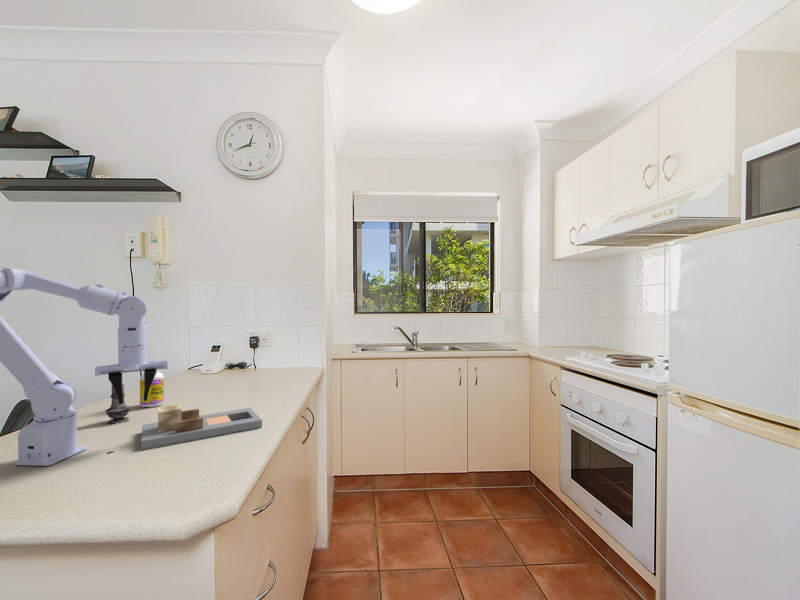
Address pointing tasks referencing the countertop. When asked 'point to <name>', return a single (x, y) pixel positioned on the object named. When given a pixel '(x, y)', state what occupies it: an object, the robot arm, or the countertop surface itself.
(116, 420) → the salt shaker
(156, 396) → the supplement bottle
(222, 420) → the tile
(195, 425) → the channel walls
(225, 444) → the countertop surface
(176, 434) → the deck
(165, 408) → the block
